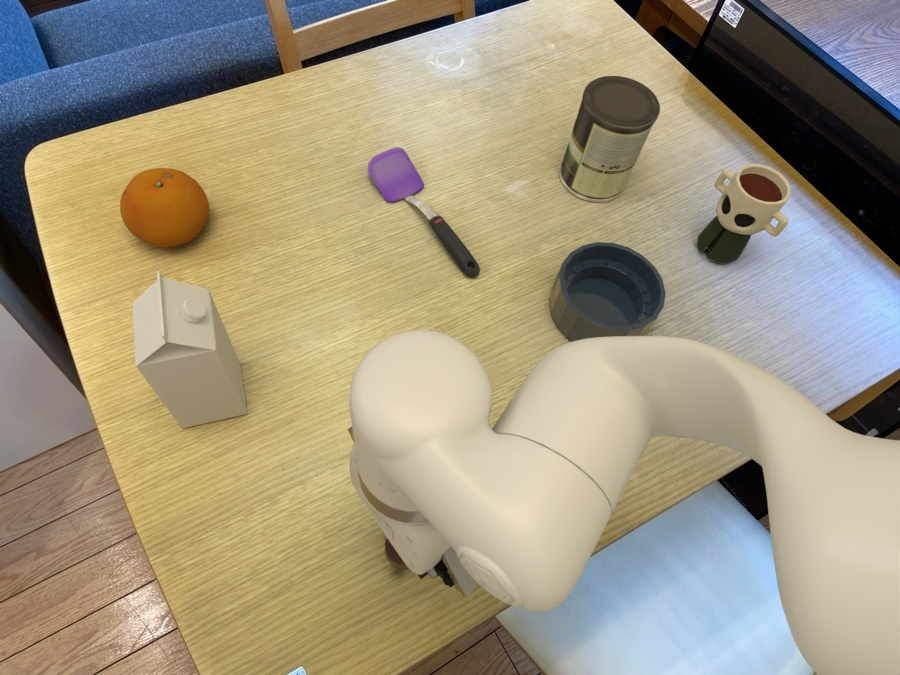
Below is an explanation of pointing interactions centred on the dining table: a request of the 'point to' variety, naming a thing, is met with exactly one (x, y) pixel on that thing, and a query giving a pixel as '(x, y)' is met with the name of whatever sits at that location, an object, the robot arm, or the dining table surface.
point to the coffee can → (607, 137)
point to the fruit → (164, 207)
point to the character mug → (745, 210)
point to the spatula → (416, 200)
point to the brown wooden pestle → (393, 556)
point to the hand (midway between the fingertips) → (406, 527)
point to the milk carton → (187, 353)
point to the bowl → (606, 292)
